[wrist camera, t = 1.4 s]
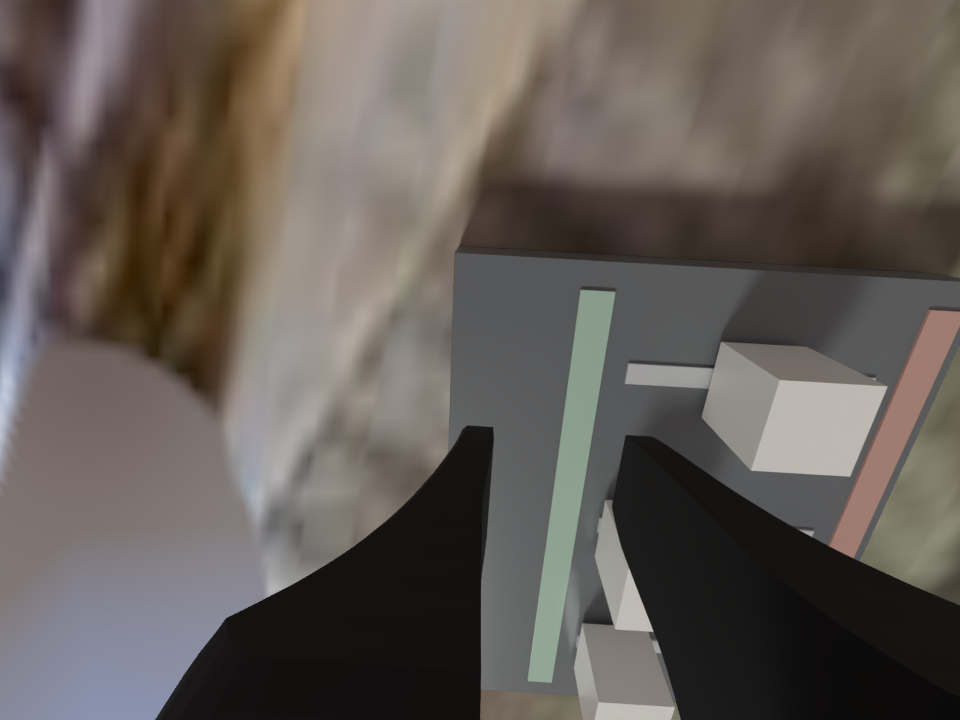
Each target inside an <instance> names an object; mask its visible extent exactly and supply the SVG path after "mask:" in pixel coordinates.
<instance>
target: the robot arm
mask: <svg viewBox="0 0 960 720" xmlns="http://www.w3.org/2000/svg"><path fill="white" fill-rule="evenodd" d="M493 446H494V431H493V427H486V426H469V425H467V426H466V427H465V428H463V429H462V431H461V434H460V435H459V437H458V439H457V441H456V442H455V444H454V446H453V447H452V449H451V450H450V452H449V453H448V455H447V456H446V457H445V459H444V460H443V461H442V463H441V464H440V465H439V467H438V468H437V469H436V470H435V472H434V473H433V474H432V475H431V476H430V478H429V479H428V480H427V481H426V482H425V483H424V484H423V485H422V487H421V488H420V489H419V490H418V491H417V492H416V493H415V494H414V495H413V496H412V497H411V498H410V499H409V500H408V501H407V502H406V503H405V504H404V505H403V506H402V507H401V508H400V509H399V510H398V511H397V512H396V513H395V514H393V515H392V516H391V517H390V518H389V519H388V520H387V521H386V522H384V523H383V524H382V525H381V526H379V527H378V528H377V529H376V530H374V531H373V532H372V533H371V534H369V535H368V536H367V537H366V538H364V539H363V540H362V541H361V542H359V543H358V544H356V545H355V546H354V547H352V548H351V549H350V550H348V551H347V552H345V553H344V554H342V555H341V556H339V557H338V558H336V559H335V560H333V561H331V562H330V563H328V564H327V565H325V566H323V567H322V568H320V569H318V570H317V571H315V572H313V573H312V574H310V575H308V576H307V577H305V578H303V579H302V580H300V581H298V582H296V583H294V584H293V585H291V586H289V587H287V588H285V589H283V590H281V591H279V592H277V593H275V594H273V595H271V596H269V597H268V598H266V599H264V600H262V601H260V602H258V603H256V604H254V605H252V606H250V607H248V608H246V609H244V610H242V611H240V612H238V613H236V614H234V615H232V616H230V617H228V618H226V619H225V620H224V622H223V623H222V625H221V626H220V628H219V629H218V630H217V632H216V633H215V634H214V635H213V637H212V638H211V639H210V640H209V642H208V643H207V644H206V645H205V647H204V648H203V649H202V650H201V652H200V653H199V654H198V656H197V657H196V659H195V660H194V661H193V663H192V664H191V666H190V667H189V669H188V670H187V671H186V673H185V674H184V676H183V677H182V679H181V680H180V682H179V684H178V685H177V687H176V688H175V690H174V691H173V693H172V694H171V696H170V698H169V699H168V701H167V702H166V704H165V705H164V707H163V708H162V710H161V712H160V713H159V715H158V717H157V718H156V719H155V720H480V701H481V579H482V571H483V563H484V556H485V548H486V540H487V528H488V514H489V501H490V487H491V473H492V460H493ZM612 511H613V515H614V520H615V524H616V529H617V533H618V537H619V541H620V545H621V548H622V551H623V553H624V556H625V559H626V561H627V564H628V567H629V569H630V572H631V575H632V577H633V580H634V583H635V585H636V588H637V590H638V593H639V595H640V598H641V601H642V603H643V606H644V608H645V611H646V614H647V616H648V619H649V621H650V624H651V626H652V629H653V632H654V634H655V637H656V639H657V642H658V645H659V648H660V650H661V653H662V656H663V659H664V662H665V665H666V668H667V672H668V675H669V679H670V682H671V686H672V689H673V693H674V696H675V700H676V703H677V707H678V711H679V714H680V718H681V720H960V605H957V604H955V603H952V602H950V601H947V600H945V599H943V598H940V597H938V596H936V595H933V594H931V593H928V592H926V591H924V590H921V589H919V588H917V587H914V586H912V585H910V584H908V583H905V582H903V581H901V580H899V579H897V578H894V577H892V576H890V575H888V574H886V573H884V572H881V571H879V570H877V569H875V568H873V567H871V566H868V565H866V564H864V563H862V562H860V561H858V560H856V559H854V558H852V557H850V556H848V555H846V554H844V553H842V552H840V551H838V550H836V549H834V548H832V547H830V546H828V545H826V544H824V543H822V542H820V541H819V540H817V539H815V538H813V537H811V536H809V535H807V534H805V533H804V532H802V531H800V530H798V529H796V528H794V527H793V526H791V525H789V524H787V523H786V522H784V521H782V520H780V519H779V518H777V517H775V516H773V515H772V514H770V513H769V512H767V511H765V510H764V509H762V508H760V507H759V506H757V505H756V504H754V503H752V502H751V501H749V500H747V499H746V498H744V497H743V496H741V495H740V494H738V493H737V492H735V491H733V490H732V489H730V488H729V487H727V486H726V485H724V484H723V483H721V482H720V481H718V480H717V479H715V478H714V477H712V476H711V475H710V474H708V473H707V472H705V471H704V470H702V469H701V468H699V467H698V466H696V465H695V464H694V463H692V462H691V461H689V460H688V459H686V458H685V457H683V456H682V455H681V454H679V453H678V452H676V451H675V450H673V449H672V448H670V447H669V446H667V445H666V444H664V443H662V442H661V441H659V440H657V439H656V438H654V437H652V436H636V435H625V441H624V446H623V451H622V456H621V461H620V466H619V471H618V477H617V482H616V487H615V492H614V497H613V502H612Z"/></svg>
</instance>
